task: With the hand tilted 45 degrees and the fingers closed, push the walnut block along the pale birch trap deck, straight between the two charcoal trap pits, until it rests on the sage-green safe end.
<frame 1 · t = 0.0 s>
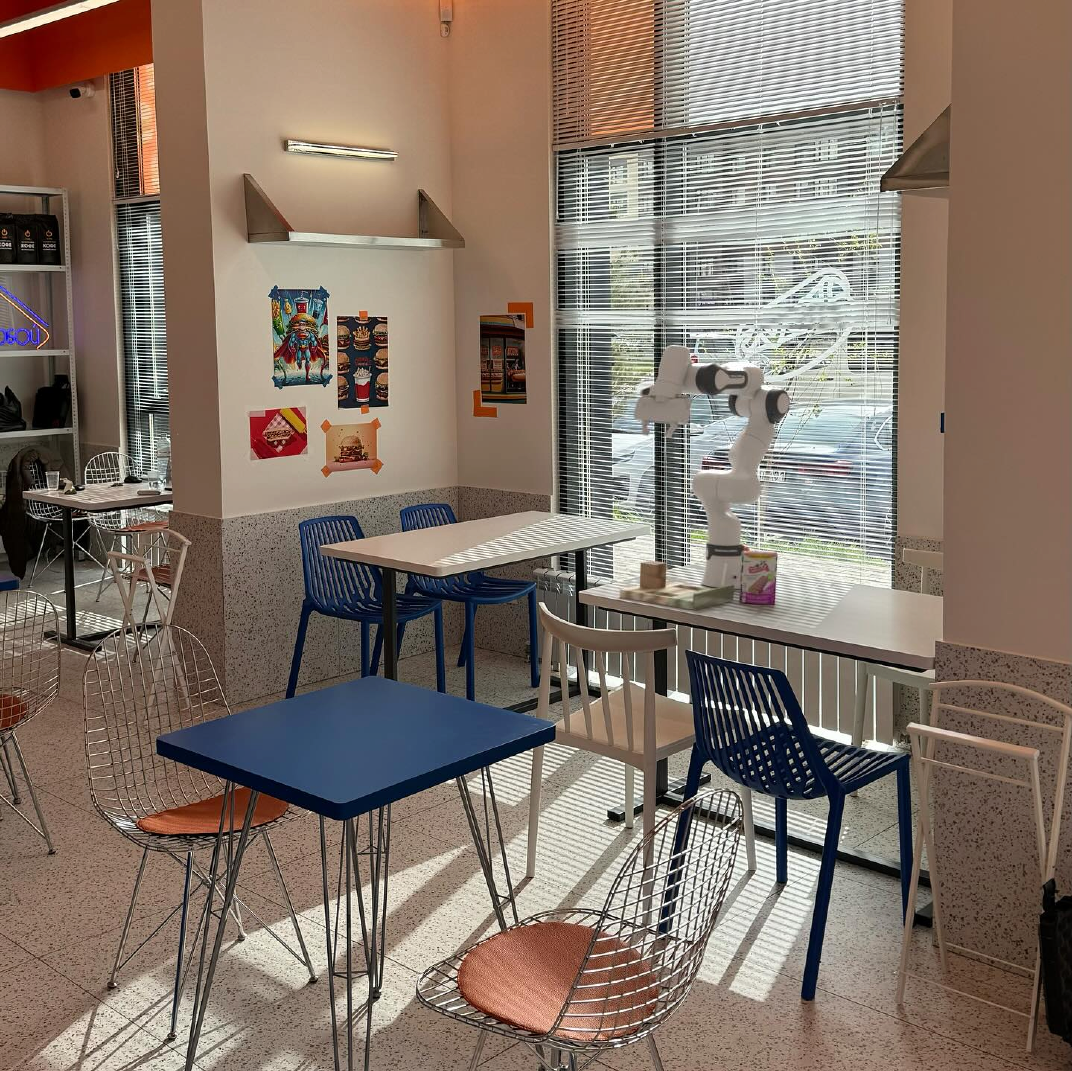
hand: (656, 436, 393), 52 cm above the table, tool tilted 20°, fingers open, 8 cm apart
walnut block: (652, 587, 406), point 2 cm above the table, touching trap deck
trap deck: (676, 598, 401), on the table
candy bar box: (757, 603, 396), on the table
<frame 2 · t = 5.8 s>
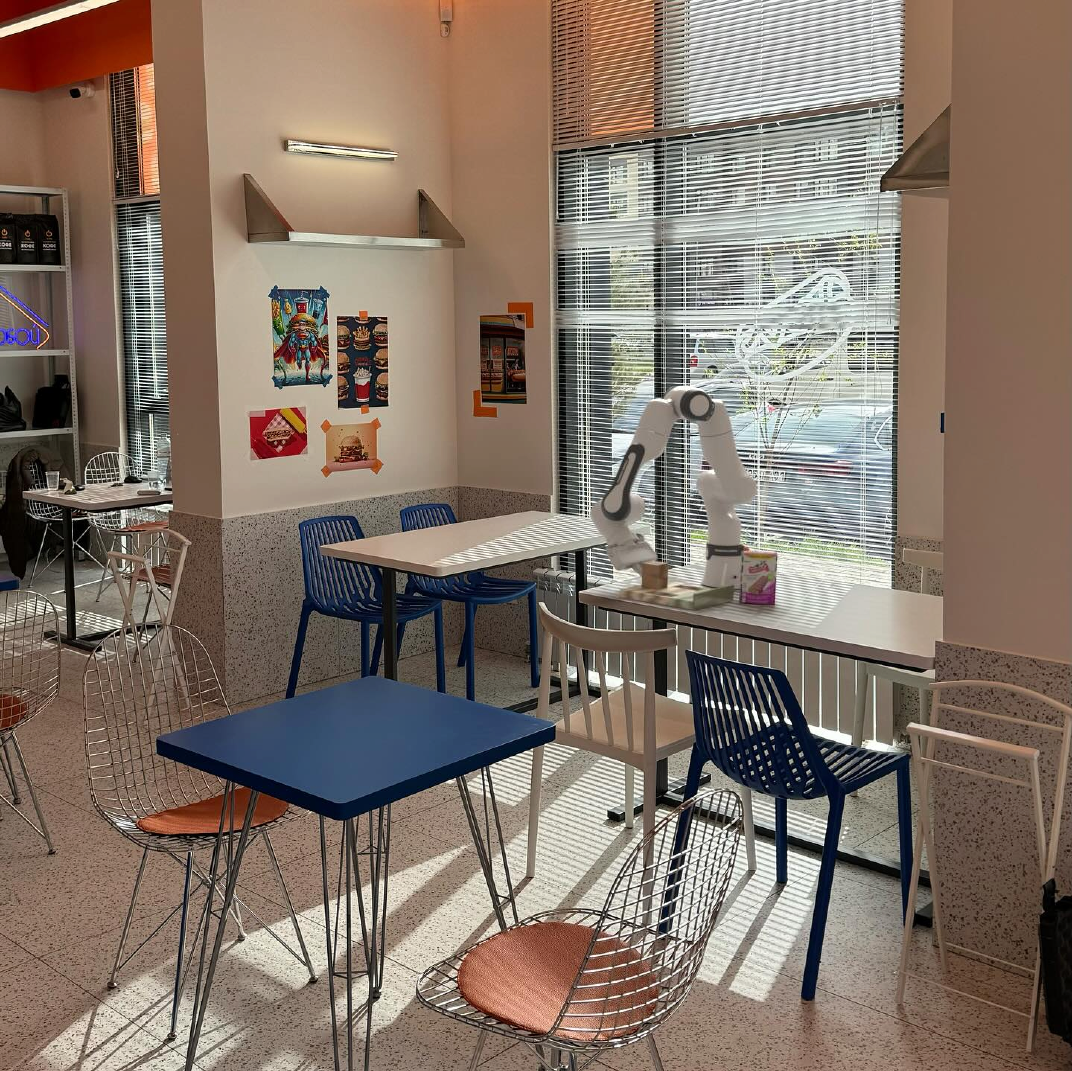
hand: (646, 575, 408), 6 cm above the table, tool tilted 45°, fingers closed, pressing on walnut block
walnut block: (654, 587, 406), point 3 cm above the table, touching gripper, trap deck
everything else where it was.
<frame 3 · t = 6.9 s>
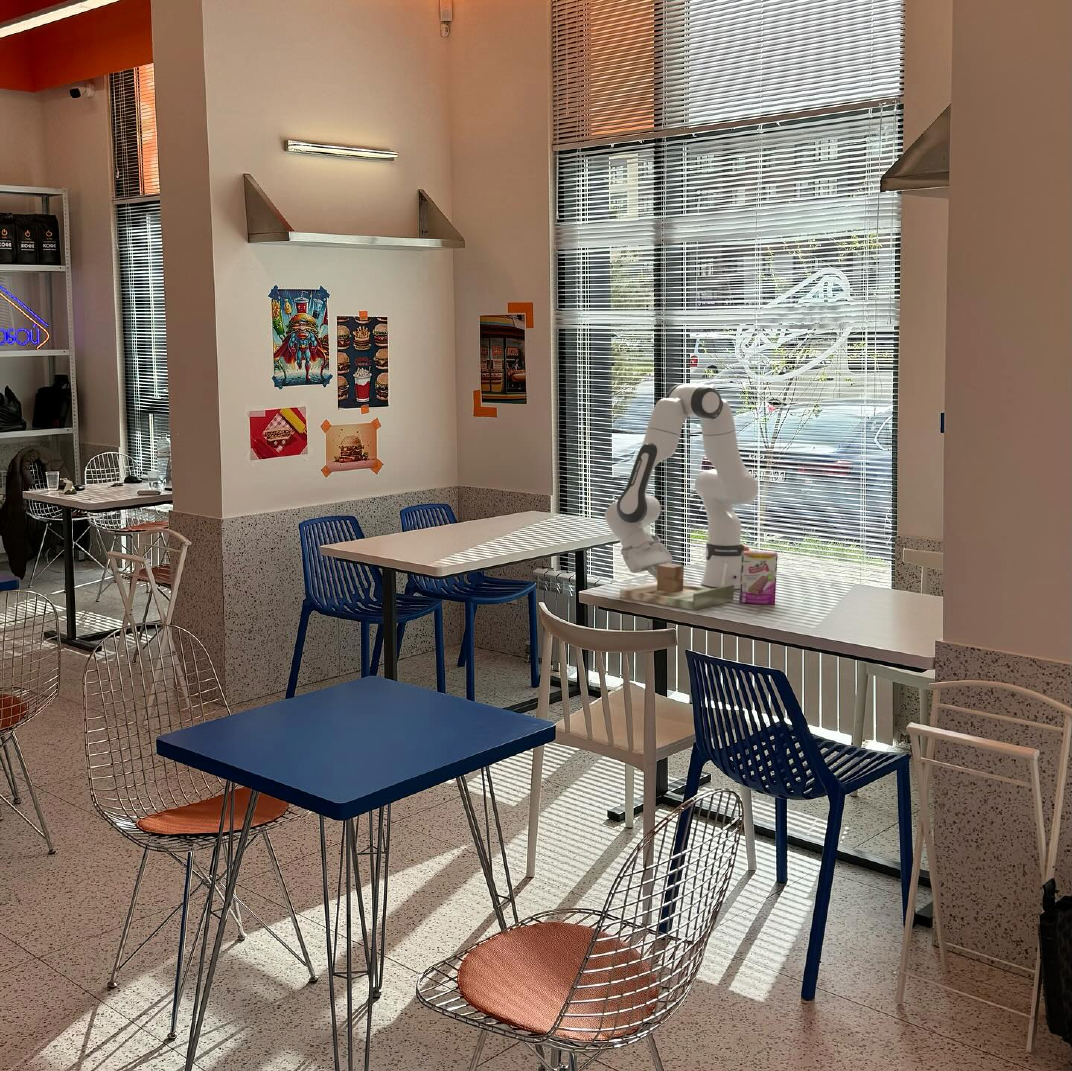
hand: (661, 578, 404), 6 cm above the table, tool tilted 45°, fingers closed, pressing on walnut block
walnut block: (669, 589, 402), point 3 cm above the table, touching gripper
everything else where it was.
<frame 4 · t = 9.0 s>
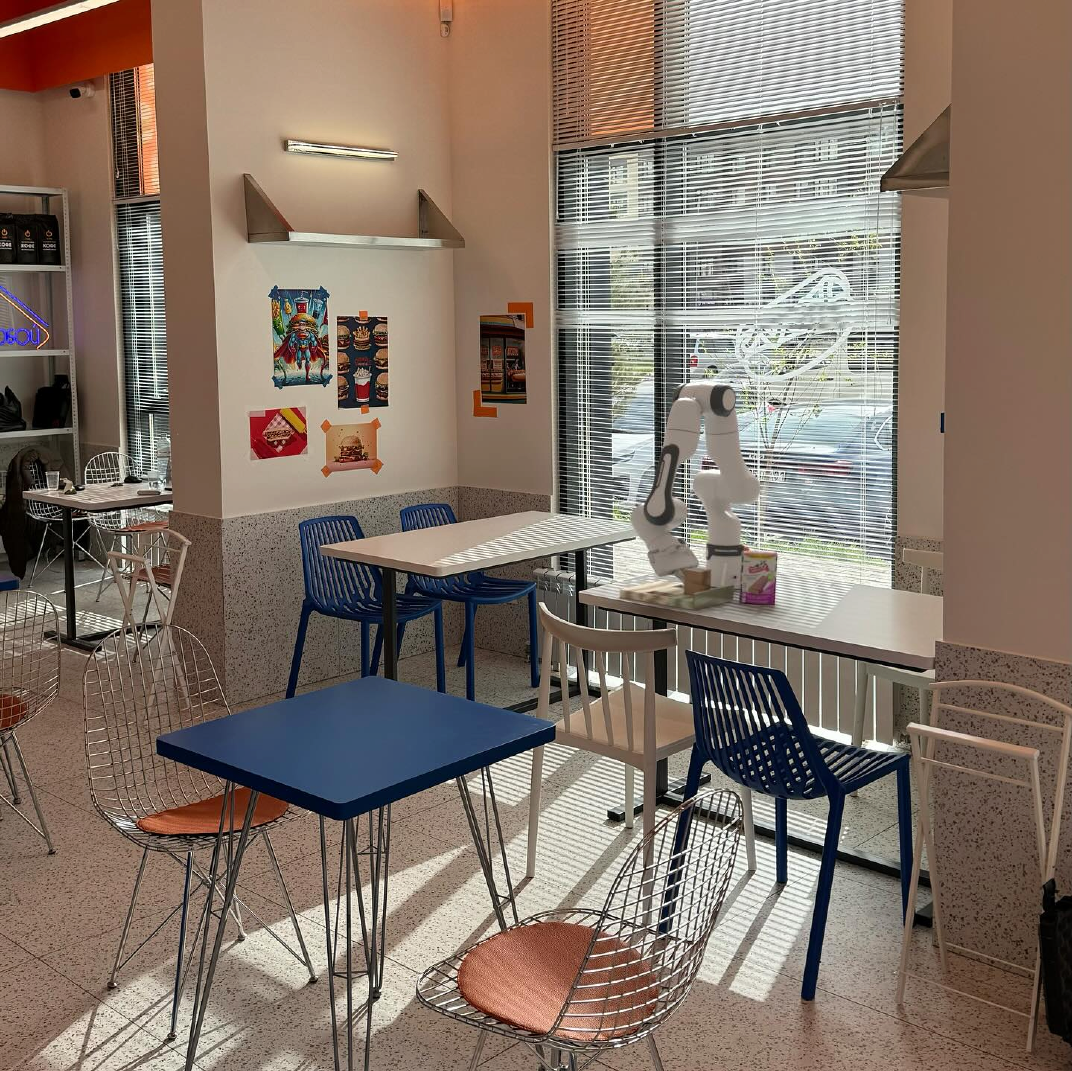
hand: (688, 582, 397), 6 cm above the table, tool tilted 45°, fingers closed
walnut block: (697, 594, 395), point 3 cm above the table, touching gripper, trap deck
everything else where it was.
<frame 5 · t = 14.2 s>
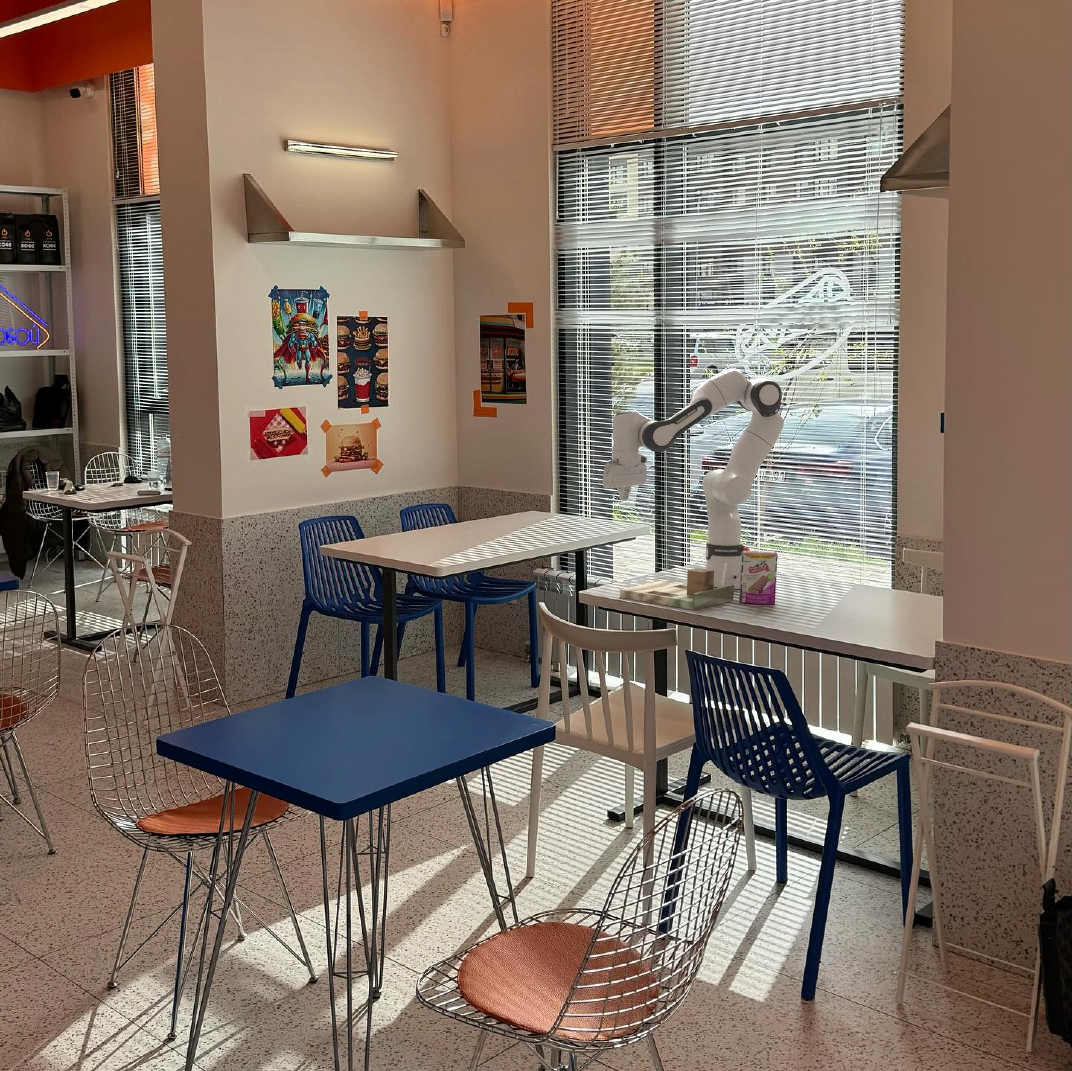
hand: (624, 499, 418), 29 cm above the table, tool pointing down, fingers closed
walnut block: (700, 595, 394), point 2 cm above the table, touching trap deck
everything else where it was.
at the end: walnut block 0.5 cm from the target spot on the trap deck, point 2.5 cm above the trap deck's base; walnut block tilted 0°; walnut block moved 18.5 cm from its start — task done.
